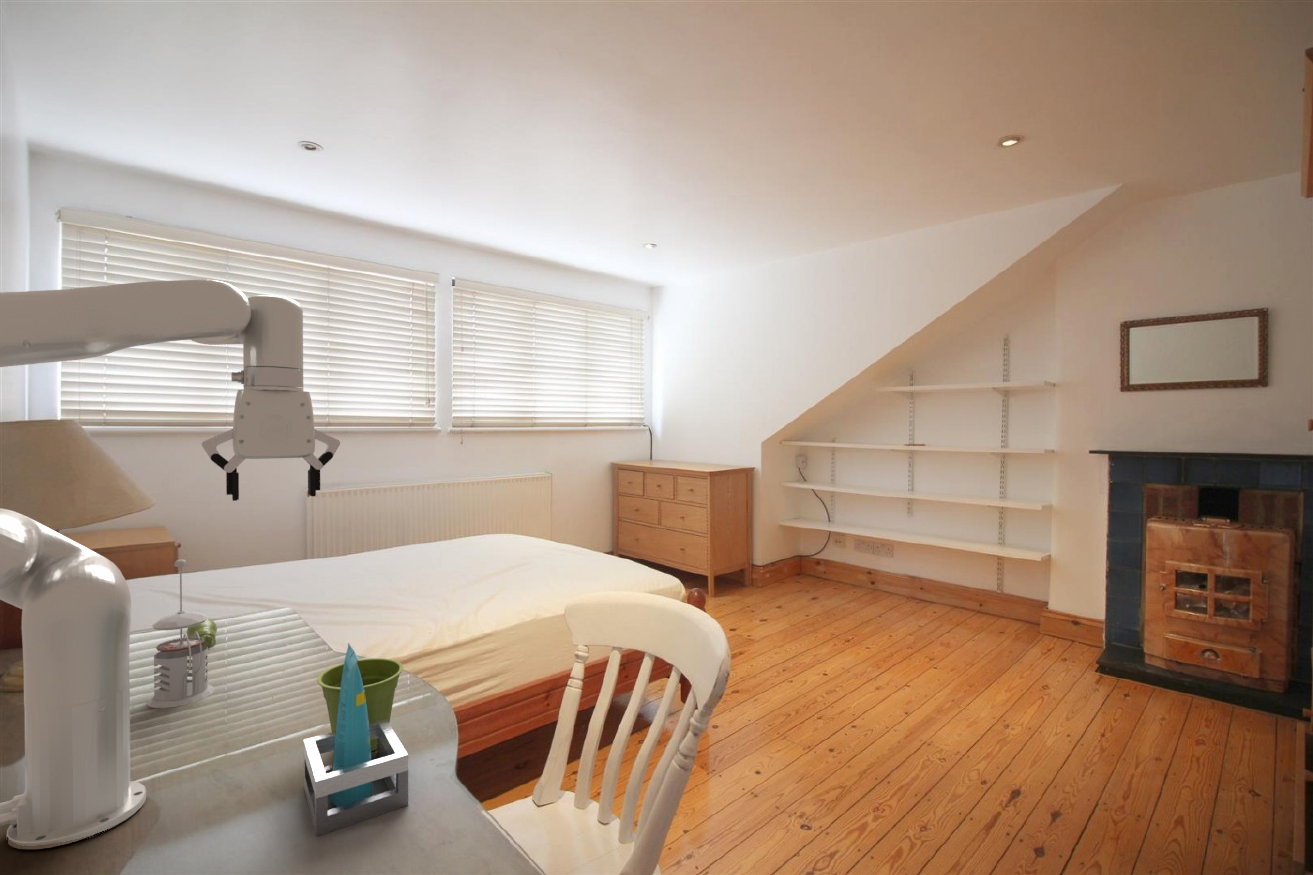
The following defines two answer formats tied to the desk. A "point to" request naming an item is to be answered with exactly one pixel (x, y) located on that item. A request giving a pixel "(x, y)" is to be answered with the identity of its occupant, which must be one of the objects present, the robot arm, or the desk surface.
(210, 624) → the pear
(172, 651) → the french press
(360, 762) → the tube
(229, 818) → the desk surface
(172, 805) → the desk surface
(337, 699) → the plant pot
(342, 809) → the square metal frame
